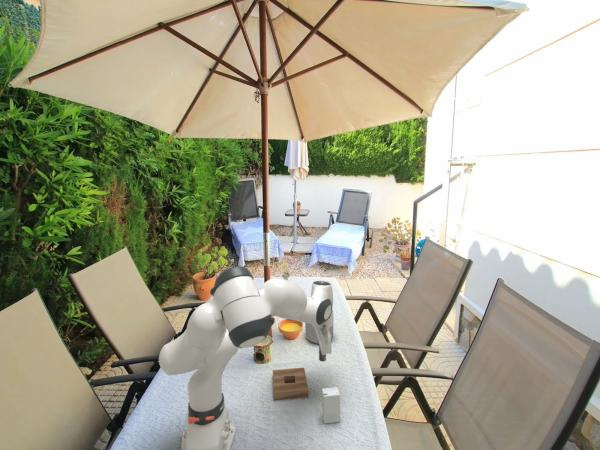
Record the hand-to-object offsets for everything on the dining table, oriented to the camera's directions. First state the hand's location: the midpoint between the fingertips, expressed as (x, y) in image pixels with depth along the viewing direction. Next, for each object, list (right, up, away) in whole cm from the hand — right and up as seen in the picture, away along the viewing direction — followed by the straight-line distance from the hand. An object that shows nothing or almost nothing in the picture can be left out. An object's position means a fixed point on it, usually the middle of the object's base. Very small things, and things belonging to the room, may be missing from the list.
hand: (322, 350), depth 132 cm
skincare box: (+2, -21, -12) cm, 24 cm away
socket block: (-13, -17, +5) cm, 22 cm away
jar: (+1, -10, +39) cm, 40 cm away
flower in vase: (-19, +2, +94) cm, 96 cm away
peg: (0, -4, +1) cm, 4 cm away
